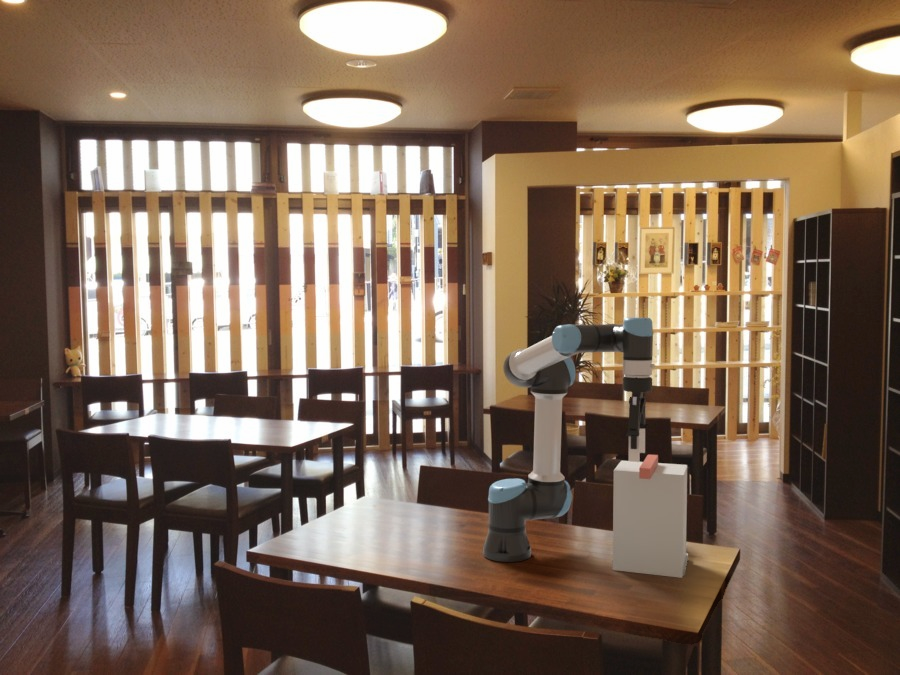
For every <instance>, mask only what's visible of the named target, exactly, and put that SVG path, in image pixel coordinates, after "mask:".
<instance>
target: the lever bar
mask: <svg viewBox="0 0 900 675" xmlns="http://www.w3.org/2000/svg"><path fill="white" fill-rule="evenodd" d="M642 462H643V463H642V465H641V466H640V468H639V478H640V479H651V477H652V475H653V473H654V471H655V469H656V468H657V466H658V463H659V454H647V455H646V457H645V458H644V460H643V461H642Z"/></svg>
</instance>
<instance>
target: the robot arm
mask: <svg viewBox="0 0 900 675" xmlns="http://www.w3.org/2000/svg"><path fill="white" fill-rule="evenodd" d="M653 326H654V325H653V320H652V318H651V317H625V318H624V319H623V324H615V323H606V324H571V323H567V324H561V325H557V326H556V327H555V328H554V330H553V331H552V334H551V335H550V336H549V337H546V338H545V339H544V338H543V340H540V341H538V342H537V343H534V344H533V345H531V346H529V347H527V348H518V349H516V350H514V351H512V352H510V353H509V354H508V355H507V356H506V357H505V359H504V362H503V365H502V366H503V374H504V376H505V378H506V379H507V380H508V381H509V382H510V384H513V385H514V386H516V387H519V388H528V389H530V393H531V394H532V395H533V396H534V423H533V424H534V428H533V429H534V430H533V431H534V432H533V465H532V471H531V472H530V473H528V477H527V482H526V480H524V479H522V478H505V479H500V480H497V481H494V482H493V483H492V484H491V485H490V486H489V489H488V496H487V497H488V498H487V501H488V531H487V533H486V534H487V535H486V538H485V541H484V544H483V548H482V555H483V557H484V558H485V559H487V560H490V561H494V562H500V563H516V562H517V563H518V562H522V561H526V560H529V559H530V558H531V556H532V547H531V544H530V542H529V537H528V535H527V530H526V529H527V528H526V524H527V523H526V521H533V520H543V519H555V518H559V517H562V516H564V515H565V514H566V513H568V511H569V510H570V507H571V504H572V500H573V498H572V490H571V485H570V484H569V482H568V481H567V480H565V476H564V475H563V473H562V472H561V457H562V456H561V455H562V454H561V452H562V450H561V449H562V425H563V424H562V418H563V417H562V415H563V398H564V397H565V396H566V395H567V394H568V387H571V386H572V385H573V384H575V380H576V366H575V363H574V361H573V359H572V357H573V356H575V355H577V354H582V353H585V354H586V353H623V354H622V355H623V356H622V358H623V359H622V374H623V375H624V377H623V378H622V391H625V392H628V393H629V392H630V393H631V396H630V397H629V399H628V404H629V408H628V411H629V413H628V423H627V424H628V428H627V431H625V436H626V437H628V460H627V461H632V462H641V461H640V460H641V459H640V454H646V429H649V424H647V420H646V418H647V417H646V403H647V399H646V398H645V397H646V393H649V392H652V390H653V378H652V376H653V368H655V367H656V365H655V363H653V351H654V349H653V348H654V346H653V345H654V330H653V329H654V327H653Z"/></svg>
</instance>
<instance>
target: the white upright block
mask: <svg viewBox="0 0 900 675" xmlns="http://www.w3.org/2000/svg"><path fill="white" fill-rule="evenodd" d="M643 462H644V461H640V462H632V461H628V460H620V462H618V464H617V465H616V467H615V468H614V469H613V492H612V493H613V498H612V500H613V504H612V506H613V507H612V508H613V509H612V510H613V511H612V517H613V518H612V523H613V524H612V561H611V568H612V571H619V572H629V573H637V574H645V575H652V576H653V575H655V576H665V577H670V578H679V579H680V578H681V579H682V578H683V577H684V576H685V575H686V571H687V567H688V562H687V561H689V553H688V552H687V516H688V515H687V514H688V513H687V511H688V510H687V508H688V507H687V506H688V464H682V463H681V464H679V463H678V464H677V463H666V462H665V463H662V462H658V466H657V468H656V469H655V471H654V473H653V475H652V477H651V479H640V478H639V468H640V466H641V465H642V463H643ZM686 566H687V567H686Z"/></svg>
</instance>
